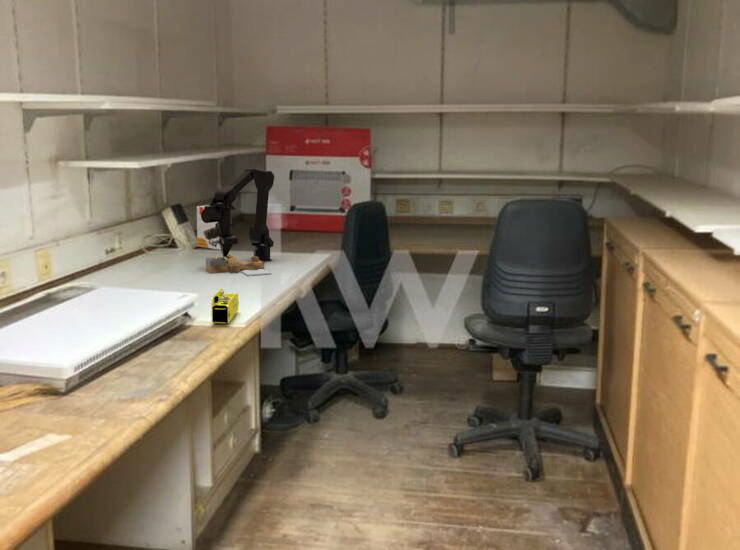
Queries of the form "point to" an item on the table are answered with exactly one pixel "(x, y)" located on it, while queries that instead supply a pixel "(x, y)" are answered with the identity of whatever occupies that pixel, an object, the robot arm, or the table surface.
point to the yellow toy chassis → (224, 307)
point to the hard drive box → (203, 227)
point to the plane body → (237, 266)
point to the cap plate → (215, 261)
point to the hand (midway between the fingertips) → (224, 258)
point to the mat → (256, 272)
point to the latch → (231, 259)
